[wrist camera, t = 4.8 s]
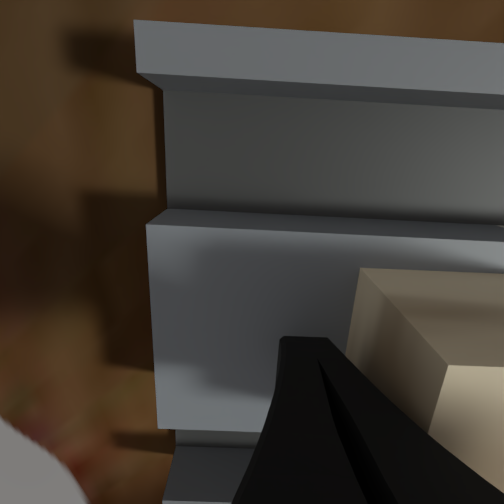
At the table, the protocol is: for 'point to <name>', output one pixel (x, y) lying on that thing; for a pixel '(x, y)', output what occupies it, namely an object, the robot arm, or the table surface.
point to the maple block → (437, 356)
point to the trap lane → (300, 206)
